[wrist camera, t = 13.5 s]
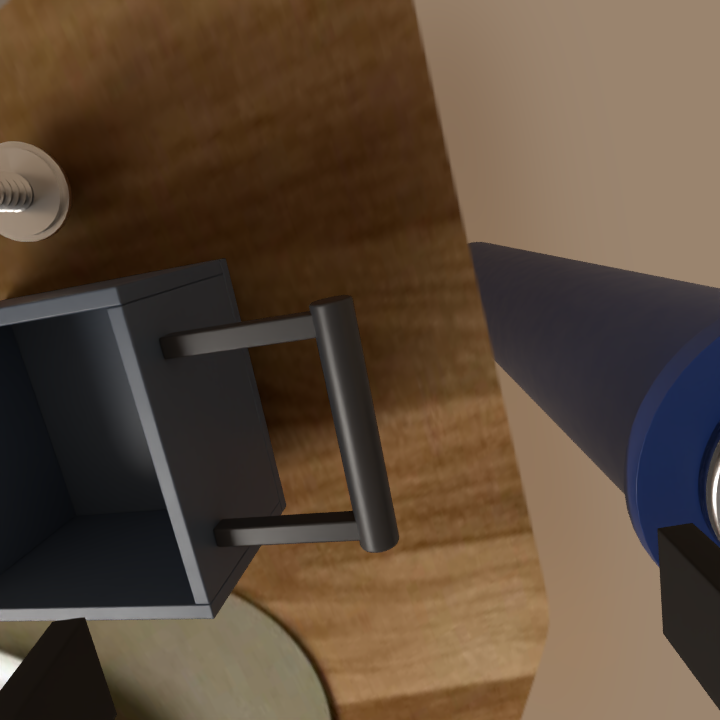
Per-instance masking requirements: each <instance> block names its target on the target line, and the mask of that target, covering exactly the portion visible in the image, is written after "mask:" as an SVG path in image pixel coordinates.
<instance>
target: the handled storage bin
mask: <svg viewBox="0 0 720 720" xmlns="http://www.w3.org/2000/svg"><path fill="white" fill-rule="evenodd" d="M309 308H310V311H307V312H301V313H294V314H288V315H282V316H275V317H269V318H263V319H256V320H250V321H243V322H241V319H240V315H239V311H238V307H237V303H236V299H235V295H234V291H233V286H232V282H231V278H230V274H229V270H228V266H227V262H226V259H225V258H223V259H217V260H212V261H207V262H201V263H196V264H191V265H186V266H180V267H175V268H170V269H165V270H159V271H154V272H149V273H144V274H138V275H133V276H128V277H122V278H117V279H112V280H107V281H101V282H96V283H91V284H86V285H80V286H75V287H70V288H64V289H59V290H54V291H49V292H43V293H38V294H33V295H28V296H22V297H17V298H12V299H7V300H2V301H0V621H61V620H67V619H74V618H80V617H85V619H86V620H146V619H214V618H215V617H216V615H217V613H218V612H219V610H220V609H221V607H222V606H223V604H224V603H225V601H226V599H227V598H228V596H229V595H230V593H231V592H232V590H233V589H234V587H235V585H236V584H237V582H238V581H239V579H240V578H241V576H242V575H243V573H244V571H245V570H246V568H247V567H248V565H249V564H250V562H251V561H252V559H253V557H254V556H255V554H256V553H257V551H258V550H259V548H260V547H261V545H275V544H296V543H317V542H338V541H360V545H361V547H362V548H363V549H364V550H365V551H367V552H373V553H378V552H383V551H387V550H389V549H391V548H393V547H394V546H395V545H396V544H397V543H398V540H399V534H398V529H397V523H396V518H395V513H394V508H393V503H392V498H391V493H390V488H389V482H388V477H387V472H386V467H385V462H384V457H383V452H382V447H381V442H380V436H379V431H378V426H377V421H376V416H375V411H374V406H373V401H372V396H371V390H370V385H369V380H368V375H367V370H366V365H365V360H364V355H363V350H362V344H361V339H360V334H359V329H358V324H357V319H356V314H355V309H354V303H353V298H352V297H351V296H349V295H341V296H334V297H329V298H324V299H320V300H317V301H314V302H312V303H311V304H310V305H309ZM313 338H316V341H317V346H318V350H319V355H320V360H321V364H322V369H323V374H324V378H325V383H326V388H327V392H328V397H329V402H330V406H331V411H332V416H333V420H334V425H335V430H336V434H337V439H338V444H339V448H340V453H341V457H342V462H343V467H344V471H345V476H346V481H347V485H348V490H349V495H350V499H351V504H352V509H353V511H344V512H328V513H312V514H295V515H281V514H282V512H283V510H284V509H285V507H286V502H285V498H284V494H283V490H282V486H281V482H280V478H279V474H278V470H277V466H276V462H275V458H274V453H273V449H272V445H271V441H270V437H269V433H268V429H267V425H266V421H265V417H264V413H263V409H262V405H261V401H260V396H259V392H258V388H257V384H256V380H255V376H254V372H253V368H252V364H251V360H250V356H249V352H248V348H250V347H257V346H264V345H271V344H278V343H285V342H292V341H299V340H306V339H313Z"/></svg>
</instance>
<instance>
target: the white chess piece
mask: <svg viewBox="0 0 720 720" xmlns="http://www.w3.org/2000/svg"><path fill="white" fill-rule="evenodd" d="M71 207H72V192H71V186H70V183H69V180H68V177H67V175H66V173H65V172H64V170H63V168H62V166H61V165H60V164H59V163H58V162H57V161H56V159H55V158H54V157H52V156H51V155H50V154H49V153H47V152H46V151H45V150H43V149H41V148H39V147H37V146H35V145H31V144H27V143H23V142H11V141H9V142H4V143H0V234H1V235H3V236H5V237H7V238H10V239H12V240H15V241H22V242H32V241H40V240H44V239H47V238H49V237H51V236H52V235H54V234H56V233H57V232H58V231H59V230H60V229H61V228H62V227H63V226H64V224H65V223H66V221H67V219H68V217H69V214H70V211H71Z"/></svg>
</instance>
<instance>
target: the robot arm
mask: <svg viewBox="0 0 720 720" xmlns="http://www.w3.org/2000/svg"><path fill="white" fill-rule="evenodd" d="M698 496H699V504H700V508H701V512H702V515H703V518H704V521H705V523H706V525H707V527H708V529H709V531H710V533H711V534H712V536H713V537H714V539H715V540H716V541H717V542H718V544H719V545H720V421H719V422H718V424H717V425H716V427H715V429H714V430H713V432H712V434H711V436H710V438H709V440H708V443H707V445H706V447H705V450H704V453H703V456H702V460H701V464H700V469H699V477H698ZM658 546H659V565H660V583H661V602H662V618H663V619H662V620H663V634H664V635H665V636H666V638H667V639H668V641H669V642H670V643H671V645H672V646H673V647H674V649H675V650H676V652H677V653H678V654H679V656H680V657H681V658H682V660H683V661H684V662H685V663H686V665H687V666H688V668H689V669H690V670H691V672H692V673H693V675H694V676H695V677H696V679H697V680H698V681H699V682H700V684H701V685H702V687H703V688H704V690H705V691H706V692H707V694H708V695H709V696H710V698H711V699H712V700H713V702H714V703H715V704H716V706H717V707H718V708H719V710H720V548H719V547H718V546H717V545H716V544H715V543H714V542H713V541H711V540H710V539H709V538H708V537H707V536H706V535H705V534H704V533H703V532H702V531H700V530H699V529H698V528H697V527H696V526H695V525H694V524H693V523H690V524H683V525H677V526H670V527H664V528H658ZM116 715H117V713H116V710H115V707H114V704H113V701H112V698H111V695H110V692H109V689H108V686H107V683H106V680H105V677H104V674H103V671H102V668H101V665H100V662H99V659H98V656H97V653H96V650H95V646H94V643H93V640H92V637H91V634H90V631H89V628H88V625H87V622H86V619H85V617H80V618H74V619H67V620H61V621H54V622H52V623H51V624H50V626H49V627H48V628H47V630H46V631H45V632H44V634H43V635H42V636H41V638H40V639H39V640H38V642H37V643H36V644H35V646H34V647H33V648H32V649H31V651H30V652H29V653H28V655H27V656H26V657H25V659H24V660H23V661H22V663H21V664H20V665H19V667H18V668H17V669H16V671H15V672H14V673H13V675H12V676H11V677H10V678H9V680H8V681H7V682H6V684H5V685H4V686H3V688H2V689H1V690H0V720H114V719H115V717H116Z"/></svg>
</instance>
